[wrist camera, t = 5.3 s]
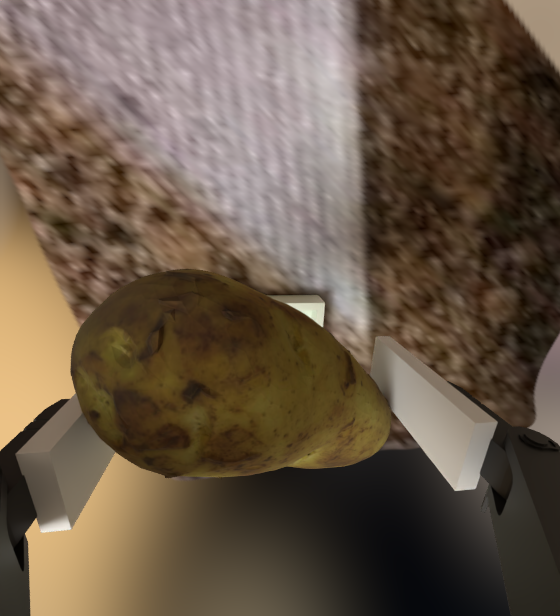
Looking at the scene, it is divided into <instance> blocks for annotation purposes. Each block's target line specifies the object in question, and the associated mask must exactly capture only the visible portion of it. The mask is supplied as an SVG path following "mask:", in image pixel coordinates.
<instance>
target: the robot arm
mask: <svg viewBox="0 0 560 616" xmlns="http://www.w3.org/2000/svg"><path fill="white" fill-rule="evenodd" d="M370 377H371V378H372V379H373V380H374V381H375V382H376V384H377V385H378V387H379V389H380V391H381V392H382V394H383V395H384V397H385V398H386V399H387V400H388V405H389V407H390V408H391V409H392V411H393V412H394V413H395V415H396V416H397V417H398V418H399V420H400V421H401V422H402V424H403V425H404V426H405V427H406V429H407V430H408V431H409V432H410V434H411V435H412V436H413V438H414V439H415V440H416V441H417V443H418V444H419V445H420V447H421V448H422V449H423V450H424V452H425V453H426V454H427V455H428V457H429V458H430V459H431V461H432V462H433V463H434V464H435V466H436V467H437V468H438V470H439V471H440V472H441V473H442V475H443V476H444V477H445V479H446V480H447V481H448V482H449V484H450V485H451V486H452V487H453V489H454V490H455V491H459V490H468V489H476V486H477V483H478V480H479V477H480V475H481V476H482V477H483V478H485V480H486V481H487V482H488V483H489V486H488V489H487V491H486V494H485V497H484V500H483V503H482V506H481V512H484V513H485V511H486V509H487V507H489V508H490V513H491V518H492V523H493V528H494V533H495V538H496V543H497V548H498V553H499V558H500V563H501V568H502V572H503V577H504V583H505V588H506V592H507V597H508V603H509V607H510V613H511V616H560V446H559V445H558V444H557V443H556V442H554V441H553V440H552V439H550V438H549V437H547V436H545V435H543V434H541V433H539V432H536V431H534V430H531V429H529V428H524V427H512V426H511V425H510V424H508V423H507V422H506V421H504V420H503V419H502V418H500V417H499V416H498V415H496V414H495V413H494V412H492V411H491V410H490V409H489V408H487V407H486V406H485V405H483V404H481V402H479V401H478V400H477V399H475V398H474V397H472V395H470V394H469V393H468V392H466V391H465V390H464V389H462V388H461V387H459V386H457V385H455V384H453V383H451V382H449V381H445V380H444V379H443V378H441V377H440V376H439V375H438V374H436V373H435V372H434V371H433V370H431V369H430V368H429V367H428V366H426V365H425V364H424V363H422V362H421V361H420V360H419V359H417V358H416V357H415V356H414V355H412V354H411V353H410V352H409V351H407V350H406V349H405V348H403V347H402V346H401V345H400V344H398V343H397V342H396V341H395V340H393V339H392V338H391V337H390V336H382V337H376V340H375V347H374V353H373V360H372V367H371V373H370ZM114 454H115V451H114V450H113V449H112V448H110V447H109V446H108V445H107V444H106V443H105V442H104V441H102V440H101V439H100V438H99V437H98V435H97V434H96V432H95V431H94V430H93V428H92V427H91V426H90V424H88V423H87V420H86V418H85V416H84V414H83V412H82V411H81V407H80V404H79V401H78V398H77V394H75V395H74V396H73V397H72V398H71V399H61V400H60V401H58V402H56V403H54V404H53V405H51V406H49V407H48V408H46V409H45V410H44V411H43V412H42V413H41V414H39V415H38V416H37V417H36V418H35V419H34V421H33V422H31V423H30V424H29V425H28V426H26V427H25V428H24V430H23V431H22V432H20V433H19V434H18V435H17V436H16V437H15V438H14V439H12V440H11V441H10V442H9V443H8V444H7V445H6V446H5V447H4V448H3V449H2V450H1V451H0V616H30V590H29V561H28V560H29V558H28V541H27V538H26V536H25V533H26V531H27V530H28V528H29V527H30V526H31V524H32V523H33V521H34V520H35V518H37V521H38V524H39V527H40V530H41V532H52V531H62V530H71V529H72V527H73V526H74V524H75V522H76V520H77V519H78V517H79V515H80V513H81V511H82V510H83V508H84V506H85V505H86V503H87V501H88V499H89V498H90V496H91V494H92V492H93V490H94V489H95V487H96V485H97V483H98V482H99V480H100V478H101V476H102V475H103V473H104V471H105V469H106V467H107V466H108V464H109V462H110V460H111V459H112V457H113V455H114Z"/></svg>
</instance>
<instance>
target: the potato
mask: <svg viewBox="0 0 560 616" xmlns="http://www.w3.org/2000/svg"><path fill="white" fill-rule="evenodd" d="M71 376H72V380H73V384H74V388H75V391H76V394H77V398H78V401H79V404H80V407H81V411H82V412H83V414H84V416H85V418H86V420H87V423H88V424H90V426H91V427H92V428H93V430H94V431H95V432H96V434H97V435H98V437H99V438H100V439H101V440H102V441H104V442H105V443H106V444H107V445H108V446H109V447H110V448H112V449H113V450H114V451H115V452H116V453H118V454H119V455H121V456H122V457H124V458H125V459H127V460H128V461H130V462H131V463H133V464H135V465H137V466H138V467H140V468H143V469H146V470H149V471H152V472H155V473H158V474H161V475H164V476H165V478H172V477H177V476H193V477H219V478H222V477H227V476H228V477H229V476H247V475H252V474H257V473H262V472H266V471H272V470H276V469H279V468H282V467H285V466H290V467H298V468H307V469H316V468H329V467H339V466H341V467H344V466H347V465H351V464H355V463H357V462H359V461H362V460H364V459H366V458H369V457H371V456H372V455H373V454H375V453H376V452H377V451H378V450H379V449H380V448H381V447H382V446H383V445H384V443H385V441H386V440H387V438H388V435H389V432H390V426H391V412H390V408H389V405H388V400H387V399H386V398H385V397H384V395H383V394H382V392H381V391H380V389H379V387H378V385H377V384H376V382H375V381H374V380H373V379H372V378H371V377H370V375H369V374H367V373H366V372H365V371H364V369H363V368H362V367H361V366H360V364H359V363H358V362H357V361H356V359H355V358H354V357H353V356H352V355H351V353H350V351H348V350H347V349H346V348H345V347H343V346H342V345H341V344H340V343H339V342H338V341H337V340H336V339H335V338H334V336H333V335H332V334H330V333H329V332H327V331H326V330H325V329H324V328H323V327H322V326H320V325H319V324H318V323H316V322H315V321H314V320H313V319H311V318H310V317H308V316H307V315H306V314H304V313H302V312H301V311H299V310H297V309H295V308H293V307H292V306H290V305H288V304H285V303H283V302H280V301H277V300H275V299H273V298H271V297H269V296H267V295H265V294H263V293H260V292H258V291H256V290H254V289H252V288H250V287H248V286H246V285H244V284H241V283H239V282H237V281H234V280H232V279H230V278H227V277H225V276H222V275H219V274H215V273H212V272H208V271H203V270H194V269H180V270H171V271H166V272H160V273H156V274H152V275H148V276H145V277H142V278H140V279H138V280H135V281H133V282H131V283H129V284H127V285H125V286H123V287H121V288H120V289H118V290H117V291H116V292H114V293H113V294H111V295H110V296H109V297H108V298H107V299H106V300H105V301H104V302H103V303H102V304H101V305H100V306H99V307H98V308H96V309H95V310H94V311H93V312H92V314H91V315H90V316H89V317H88V318H87V319H86V321H85V322H84V323H83V324H82V326H81V327H80V329H79V331H78V333H77V335H76V338H75V341H74V344H73V348H72V354H71Z"/></svg>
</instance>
